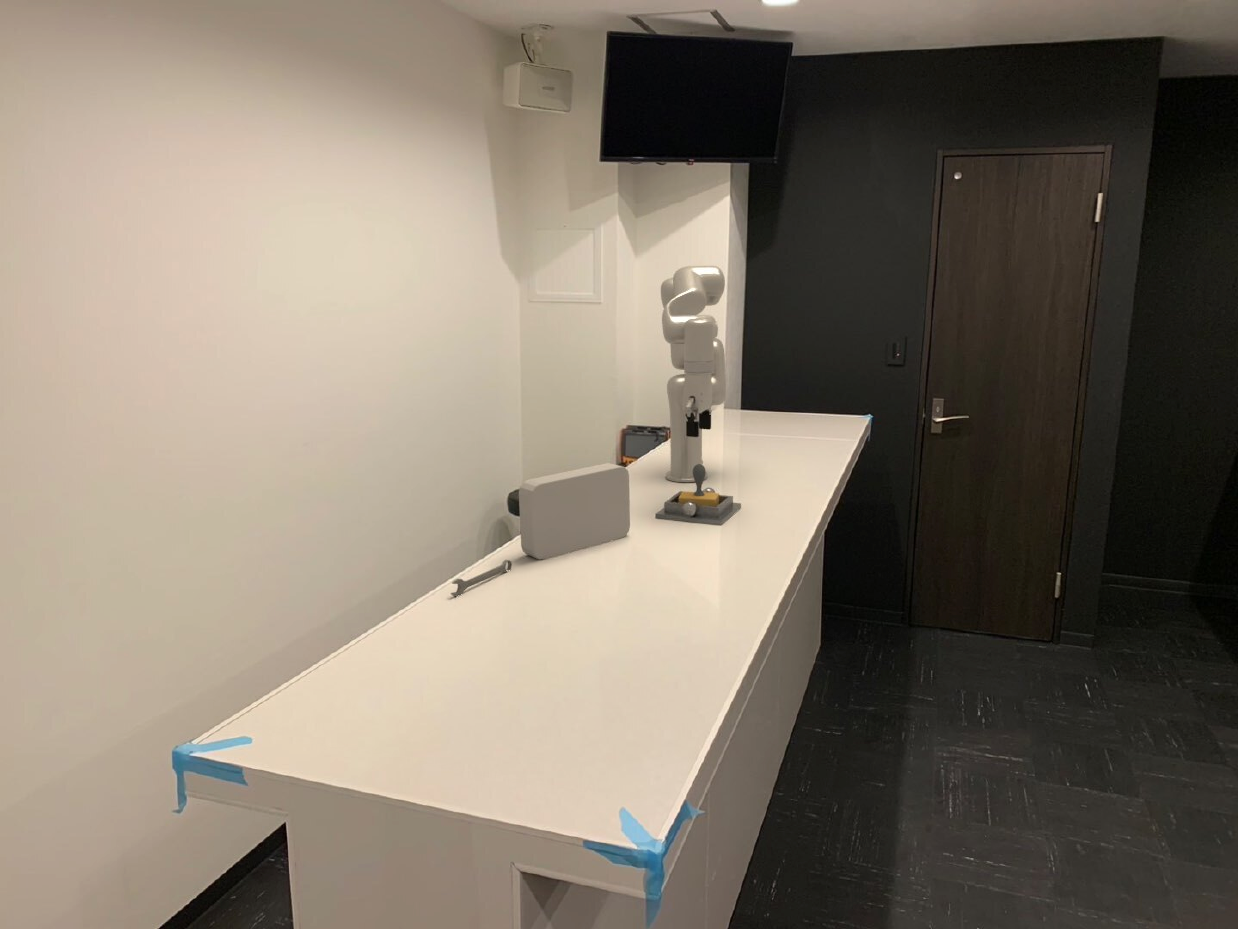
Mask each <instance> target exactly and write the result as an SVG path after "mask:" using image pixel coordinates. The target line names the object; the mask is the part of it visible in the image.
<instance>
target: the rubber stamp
mask: <svg viewBox="0 0 1238 929" xmlns="http://www.w3.org/2000/svg"><path fill="white" fill-rule="evenodd" d="M706 473H707V472H706V468H705V466H704V464H702V465H701V464H697V465H695V466H694V468H693V477H694V480H695V482H694V483H695V485H696V490H695V491H683V492H682V493H681V495H680V496H679V503H684V504H686V503H687V502H689V501H693V502H695V503H696V504H697V505H704V506H714V507H717V506H718V505H719V495H720V493H719V492H715V493H706V492H703V489H702V485H703V483H704V481H705V480H704V478H705V474H706Z"/></svg>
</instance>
